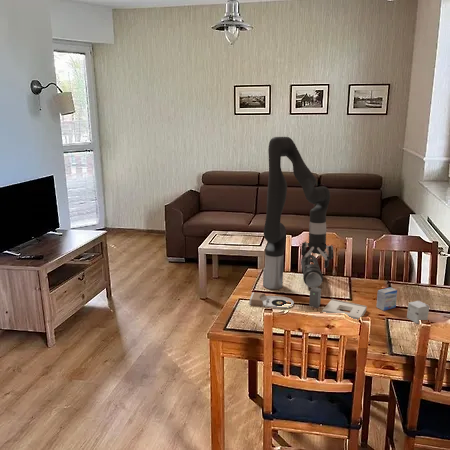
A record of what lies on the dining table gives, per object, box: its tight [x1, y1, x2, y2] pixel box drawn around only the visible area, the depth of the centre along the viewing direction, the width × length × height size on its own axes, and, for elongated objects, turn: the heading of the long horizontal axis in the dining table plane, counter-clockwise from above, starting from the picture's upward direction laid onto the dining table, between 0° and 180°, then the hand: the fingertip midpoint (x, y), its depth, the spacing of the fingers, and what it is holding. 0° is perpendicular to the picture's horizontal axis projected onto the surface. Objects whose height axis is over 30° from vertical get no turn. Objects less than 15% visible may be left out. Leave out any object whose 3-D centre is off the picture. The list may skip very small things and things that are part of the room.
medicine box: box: [376, 286, 398, 312], centre depth 204 cm, size 8×4×9 cm, turn 117°
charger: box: [308, 287, 322, 309], centre depth 207 cm, size 4×4×8 cm
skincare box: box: [406, 300, 430, 324], centre depth 193 cm, size 6×6×7 cm
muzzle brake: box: [300, 254, 324, 289], centre depth 237 cm, size 10×28×10 cm, turn 174°
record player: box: [248, 291, 295, 310], centre depth 210 cm, size 12×3×20 cm
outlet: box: [321, 298, 368, 320], centre depth 200 cm, size 16×14×2 cm
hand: (316, 266), depth 204 cm, fingers open, 8 cm apart
